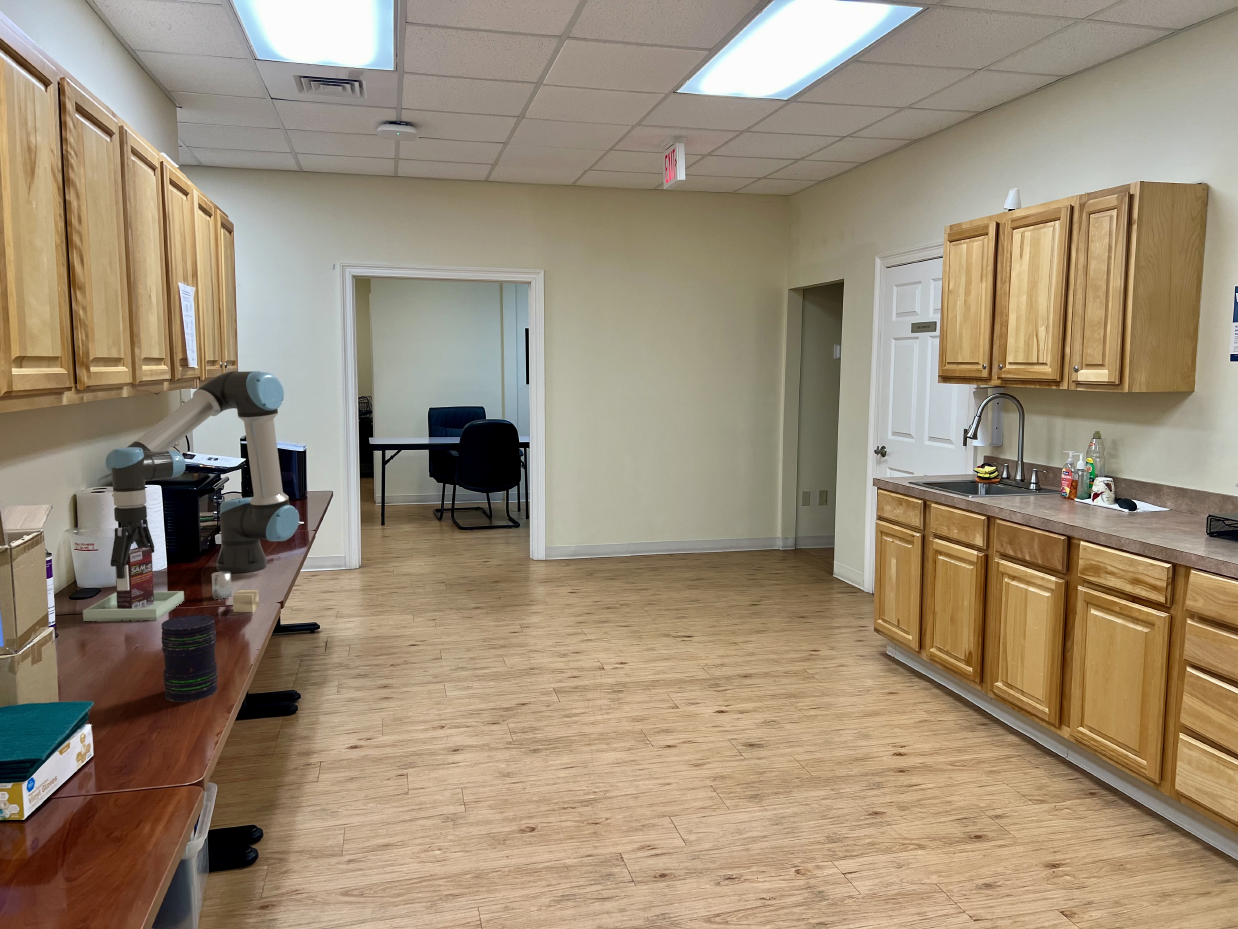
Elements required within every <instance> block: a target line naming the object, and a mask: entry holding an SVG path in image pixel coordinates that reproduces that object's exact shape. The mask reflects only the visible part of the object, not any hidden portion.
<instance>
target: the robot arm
mask: <svg viewBox="0 0 1238 929" xmlns="http://www.w3.org/2000/svg"><path fill="white" fill-rule="evenodd" d="M283 387H284V386H283V384H282V383H281V381H280V380H279V379H278V377H276V376H275V375H274V374H272V373H271V372H267V371H266V372H265V371H259V370H257V371H255V370H253V371H251V370H250V371H248V370H247V371H246V370H245V371H238V370H237V371H236V370H234V371H233V370H232V371H227V372H223V373H221V374H219V375H217V376H215V377H213V378H211V379H210V380H208V381H207V382H205V383H203V384H202V385H201V386H199V387H198V388H197V389H196V390H194V391H193V393H192V397H191V398H190V399H188V400H187V401H186V402H184V403H183V404H181V405H180V406H179V407H177V408H176V409H175V410H174V411H172V412H171V413H170V414H168V415H167V416H166V417H165V418H164V419H162V420H160V421H159V422H158V423H157V424H155V425H154V426H153V427H151V428H150V429H149V430H148V431H146V432H145V433H144V434H142V435H141V436H140V437H138V438H137V439H136V440H134V441H133V442H131V443H130V444H129V445H128V446H126V447H117V448H115V449H112V450H111V451H109V452H108V454H107V455H106V458H105V466H106V469H107V470H108V471H109V472H110V474H111V482H112V493H111V497H113V505H114V506H115V507H114V509H113V512H114V514H113V515H114V521H115V522H117V523H120V527H115V528H114V539H113V545H112V551H111V552H112V553H111V559H110V567H115V566H116V567H115V581H116V580H117V591H118V590H129V575H128V565H126V562H127V559H128V555H129V552H130V549H132V548H131V547H132V545H133V544H134V543H135V545H136V547H144V548H152V554H154V553H155V544H154V541H153V538H152V536H151V531H150V528H149V524H148V519H147V518H148V512H147V510H148V509H147V506H146V505H145V504H146V503H147V492H146V482H149V481H157V480H165V479H173V478H177V477H180V476H181V475H183V474H184V472H185V470H186V460H185V458H184V456H183V454H182V453H181V452H180V451H176V450H169V449H171V448H172V447H173V446H175V445H176V444H178V443H179V441H181V440H183V439H184V438H185V437H186V436H188V435H189V434H190V433H191V432H192V431H194V430H195V429H196V428H197V427H199V426H200V425H202V424H203V422H205V421H207V419H209V418H210V417H217V416H218V415H219V414H221V413H222V412H224V411H226V410H232V409H236V413H237V417H238V418H239V419H240V420H241V421H242V422H243V424H244V431H245V437H246V446H247V453H248V460H249V461H248V462H249V467H250V468H249V470H250V476H251V484H252V485H251V486H252V491H253V496H250V497H242V498H234V499H229V500H228V499H227V500H224V501H222V502H221V503H220V506H219V523H220V540H221V541H220V542H221V545H220V546H221V547H220V550H219V553H218V557H217V560H216V564H215V565H216V571H217V572H222V571H228V572H231V574H241V573H242V574H243V573H251V572H256V571H260V570H262V569H265V568H267V564H268V562H267V558H266V555H265V552H264V550H263V547H262V544H261V540H263V541H269V542H285V541H287V540H289V539H290V538H292V536H293V535H294V534H295V533H296V531H297V529H298V527H299V523H300V514H299V511H298V510H297V508H296V507H294V506H293V505H291V504H290V499H289V497H290V496H288V495H287V494H286V493H285V492H284V491H283V482H282V475H281V474H282V473H281V466H280V459H279V451H278V444H277V437H276V428H275V418H276V417H277V416H278V414H279V412H278V410H279V408H280V407H281V405H282V404H283V401H284V398H285V391H284V388H283Z"/></svg>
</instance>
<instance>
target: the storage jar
mask: <svg viewBox="0 0 1238 929" xmlns="http://www.w3.org/2000/svg"><path fill="white" fill-rule="evenodd" d="M215 622H216V621H215V617H214V616H212V615H208V614H190V615H181V616H177V617H173V618H169V619H167V620H164V621H163V622H162V623H161V626H160V627H161V630H162V631H161V645H162V647H161V650H162V652H163V656H164V659H163V660H164V669H163V671H162V672H163V675H162V676H163V686H164V691H165V692H164V698H165V699H166V700H167V701H170V702H177V703H183V702H187V703H188V702H195V701H200V700H202V699H206V698H208V697H212V696H213V695H215V693H217V692H218V688H219V687H218V685H217V683H218V677H219V676H218V663H217V662H216V652H215V647H216V645H217V640H216V637H217V632H216V625H215Z"/></svg>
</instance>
